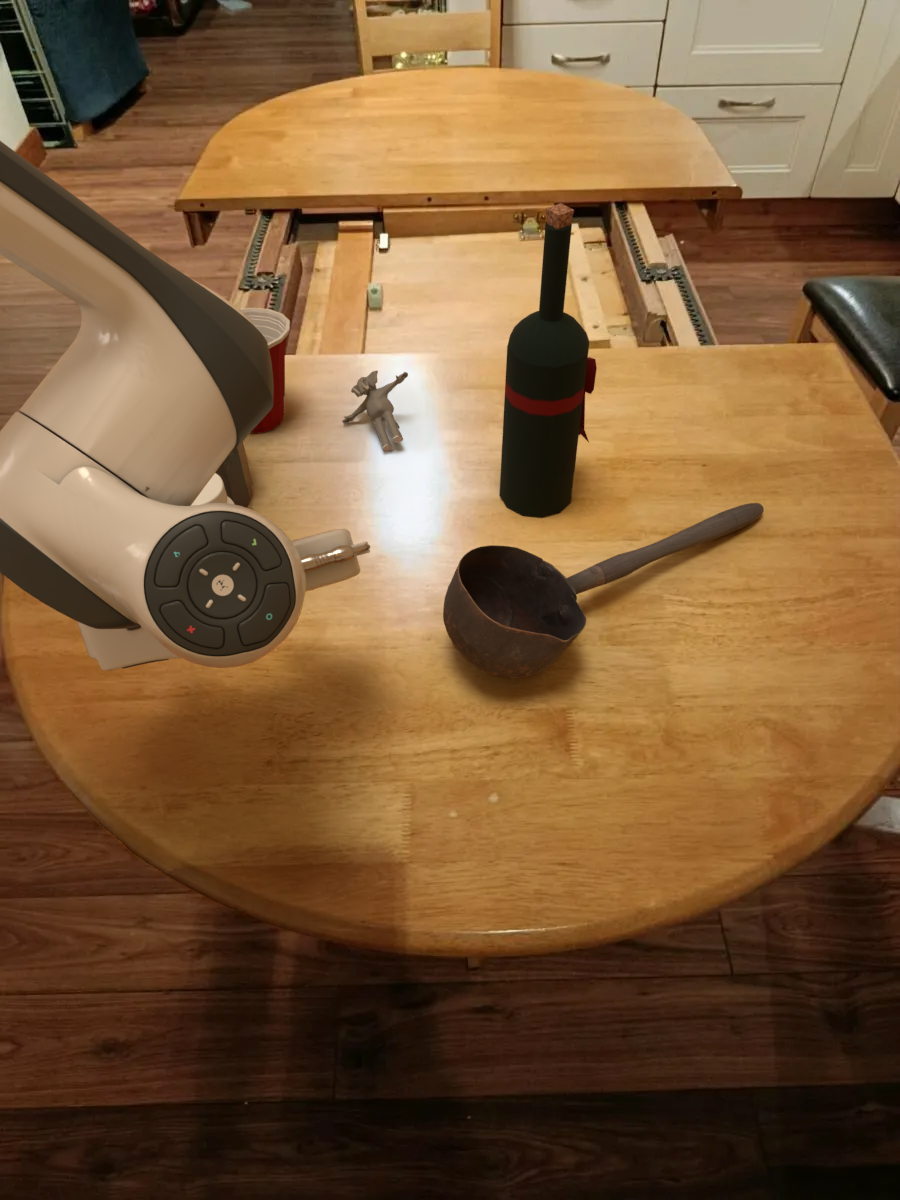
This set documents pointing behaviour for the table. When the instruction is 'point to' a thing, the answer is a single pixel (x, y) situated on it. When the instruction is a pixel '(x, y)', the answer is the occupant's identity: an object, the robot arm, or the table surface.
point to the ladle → (545, 597)
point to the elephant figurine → (378, 407)
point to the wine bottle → (545, 389)
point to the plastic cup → (272, 359)
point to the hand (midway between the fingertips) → (222, 588)
